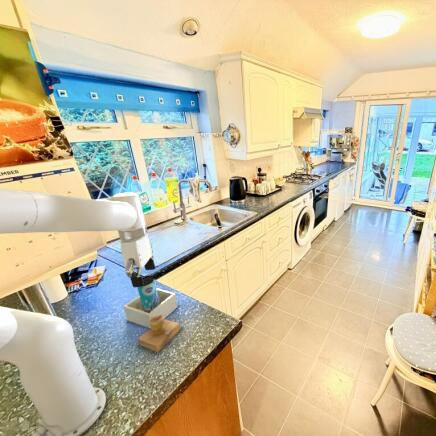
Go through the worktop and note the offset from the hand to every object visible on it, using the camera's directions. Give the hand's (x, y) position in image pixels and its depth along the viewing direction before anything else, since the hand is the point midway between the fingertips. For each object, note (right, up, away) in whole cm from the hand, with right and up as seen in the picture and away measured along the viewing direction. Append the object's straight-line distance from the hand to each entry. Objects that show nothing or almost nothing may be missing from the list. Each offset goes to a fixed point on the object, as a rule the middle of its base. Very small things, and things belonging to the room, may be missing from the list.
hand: (145, 277), depth 80 cm
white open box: (-5, -18, +14) cm, 23 cm away
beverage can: (-5, -17, +14) cm, 23 cm away
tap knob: (+4, -19, +2) cm, 20 cm away
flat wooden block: (+4, -22, +3) cm, 23 cm away
